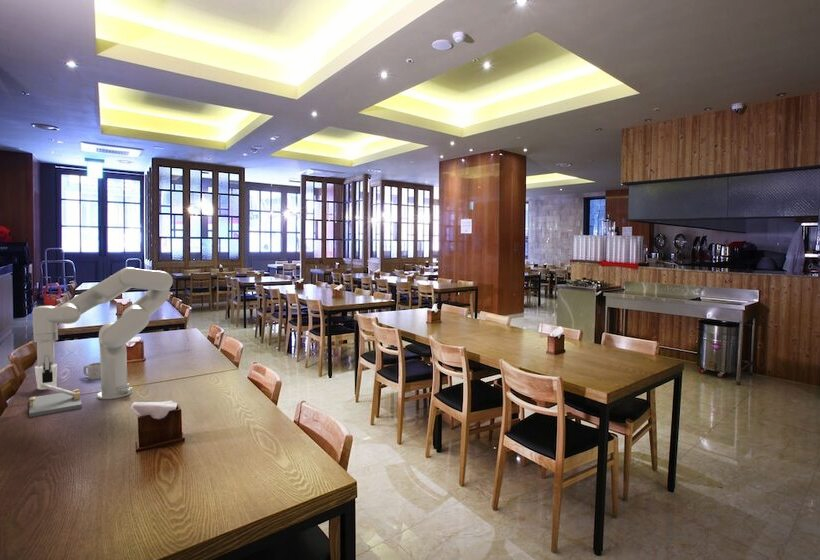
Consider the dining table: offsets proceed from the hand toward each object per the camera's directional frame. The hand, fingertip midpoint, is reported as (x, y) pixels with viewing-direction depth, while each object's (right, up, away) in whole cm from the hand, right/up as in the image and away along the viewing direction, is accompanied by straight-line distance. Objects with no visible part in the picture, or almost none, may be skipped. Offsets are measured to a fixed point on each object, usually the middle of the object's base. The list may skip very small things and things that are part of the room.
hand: (47, 381), depth 180 cm
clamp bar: (+3, -5, +3) cm, 6 cm away
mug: (-9, -7, +39) cm, 41 cm away
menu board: (+2, -10, +3) cm, 10 cm away
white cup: (-19, -8, +23) cm, 31 cm away
